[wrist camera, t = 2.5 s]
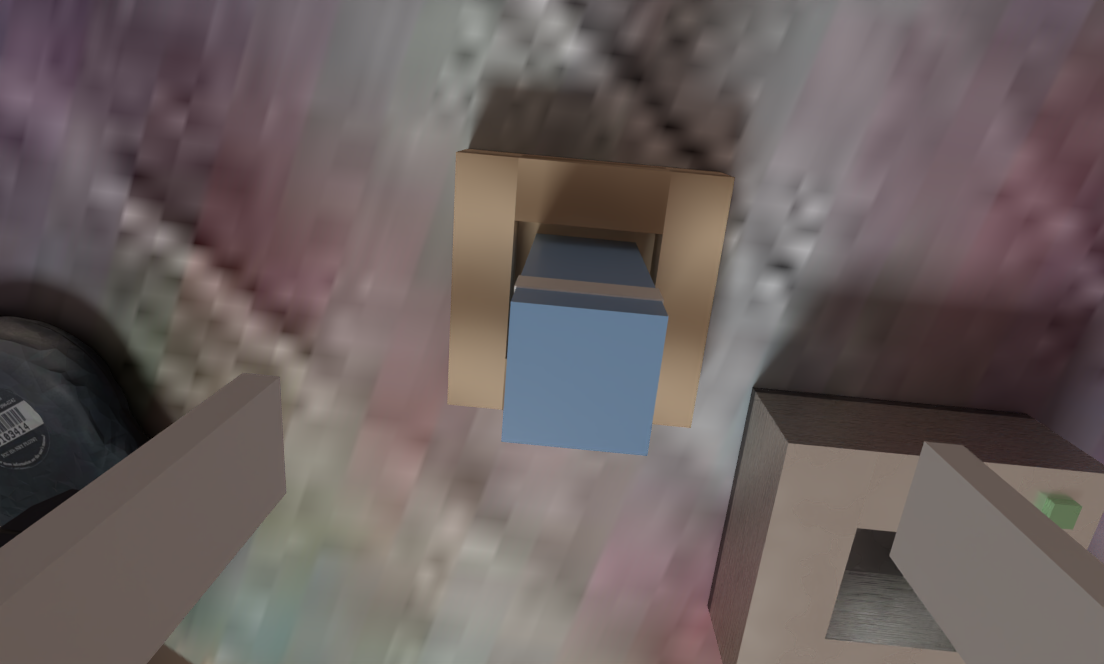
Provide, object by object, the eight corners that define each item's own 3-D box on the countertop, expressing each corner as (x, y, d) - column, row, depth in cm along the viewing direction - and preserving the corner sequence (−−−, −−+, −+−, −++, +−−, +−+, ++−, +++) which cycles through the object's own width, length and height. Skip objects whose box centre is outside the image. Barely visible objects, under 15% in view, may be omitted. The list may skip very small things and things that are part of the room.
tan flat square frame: (468, 148, 25) (456, 151, 22) (719, 172, 25) (734, 177, 22) (458, 380, 28) (447, 404, 26) (681, 401, 28) (690, 427, 26)
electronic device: (274, 509, 33) (46, 274, 27) (214, 600, 28) (-79, 339, 22) (154, 556, 36) (-76, 354, 30) (82, 646, 31) (-209, 426, 25)
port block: (752, 387, 28) (791, 448, 22) (1026, 413, 27) (1128, 481, 22) (707, 605, 32) (732, 699, 26) (947, 629, 31) (1018, 729, 26)
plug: (535, 231, 25) (508, 299, 16) (636, 241, 25) (670, 314, 16) (528, 327, 27) (499, 442, 17) (624, 336, 27) (649, 457, 17)
